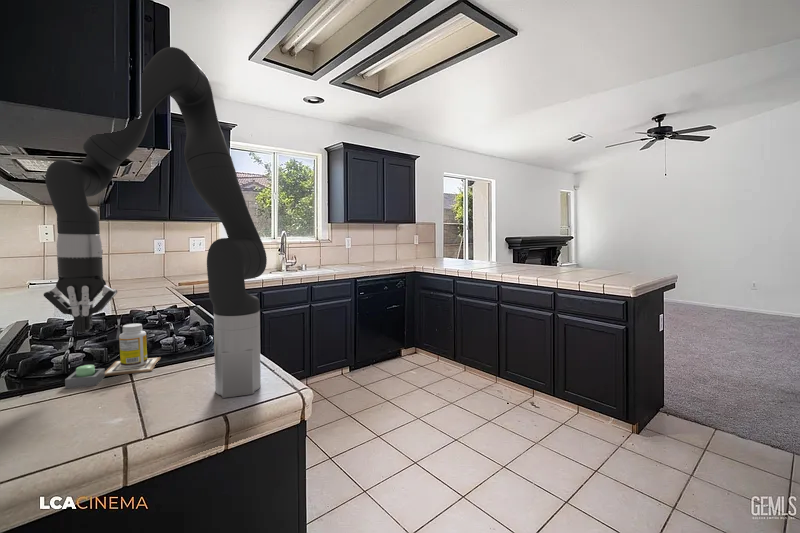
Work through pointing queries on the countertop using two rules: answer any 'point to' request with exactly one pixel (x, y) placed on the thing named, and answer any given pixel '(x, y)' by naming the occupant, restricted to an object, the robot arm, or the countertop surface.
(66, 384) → the button housing
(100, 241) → the robot arm
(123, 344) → the supplement bottle
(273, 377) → the countertop surface
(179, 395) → the countertop surface
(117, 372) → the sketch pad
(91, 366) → the button
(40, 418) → the countertop surface
